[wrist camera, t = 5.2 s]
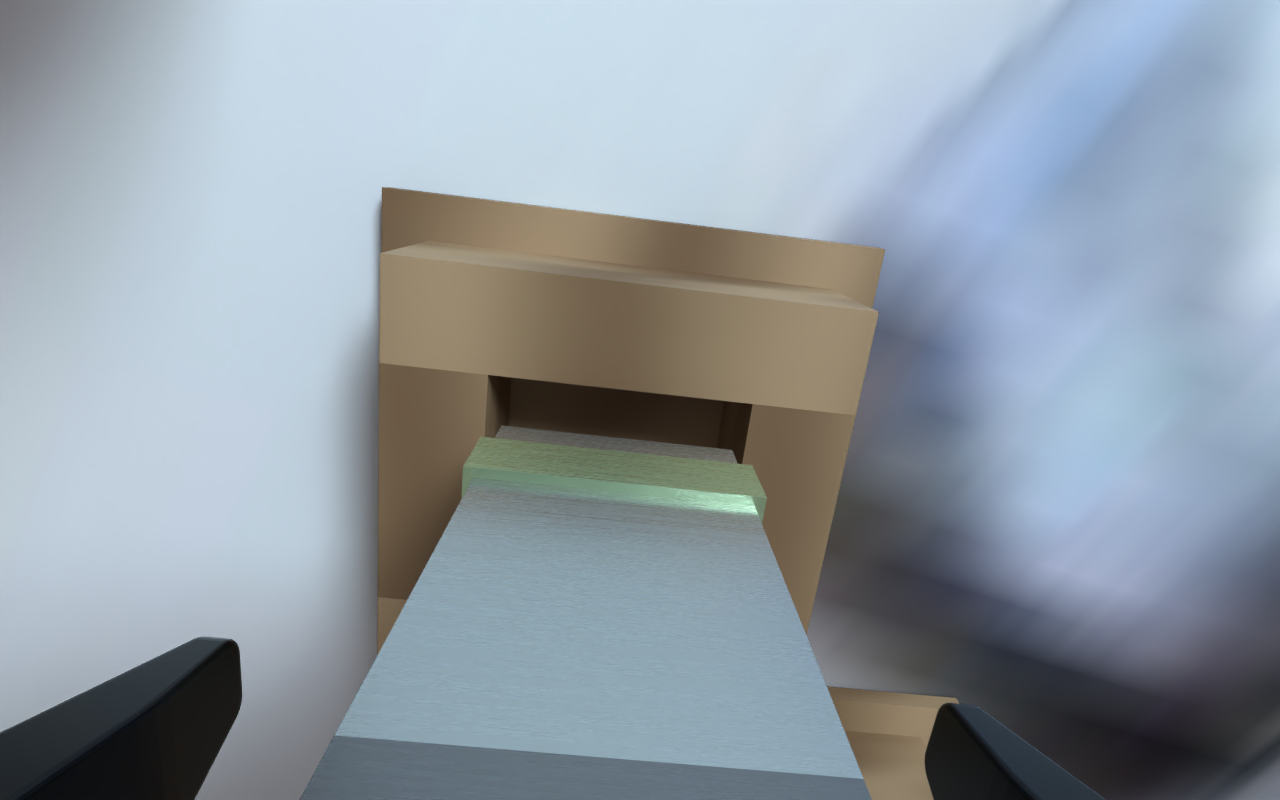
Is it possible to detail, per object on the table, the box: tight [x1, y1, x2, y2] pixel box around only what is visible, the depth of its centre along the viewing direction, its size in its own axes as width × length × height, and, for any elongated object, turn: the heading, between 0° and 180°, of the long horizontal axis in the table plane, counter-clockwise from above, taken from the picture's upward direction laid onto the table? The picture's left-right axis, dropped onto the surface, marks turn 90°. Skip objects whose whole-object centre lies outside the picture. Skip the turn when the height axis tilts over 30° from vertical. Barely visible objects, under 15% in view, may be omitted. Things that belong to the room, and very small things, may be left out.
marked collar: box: [377, 187, 885, 655], centre depth 15 cm, size 11×11×4 cm
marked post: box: [300, 425, 872, 800], centre depth 9 cm, size 4×4×8 cm
